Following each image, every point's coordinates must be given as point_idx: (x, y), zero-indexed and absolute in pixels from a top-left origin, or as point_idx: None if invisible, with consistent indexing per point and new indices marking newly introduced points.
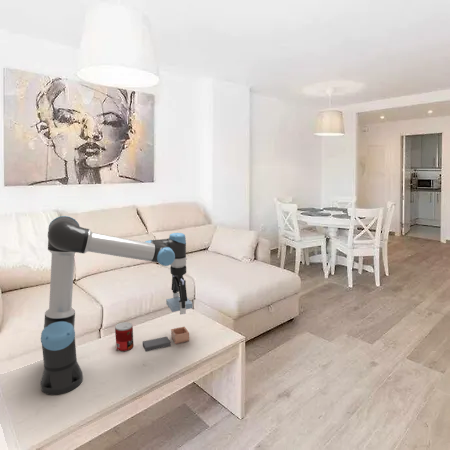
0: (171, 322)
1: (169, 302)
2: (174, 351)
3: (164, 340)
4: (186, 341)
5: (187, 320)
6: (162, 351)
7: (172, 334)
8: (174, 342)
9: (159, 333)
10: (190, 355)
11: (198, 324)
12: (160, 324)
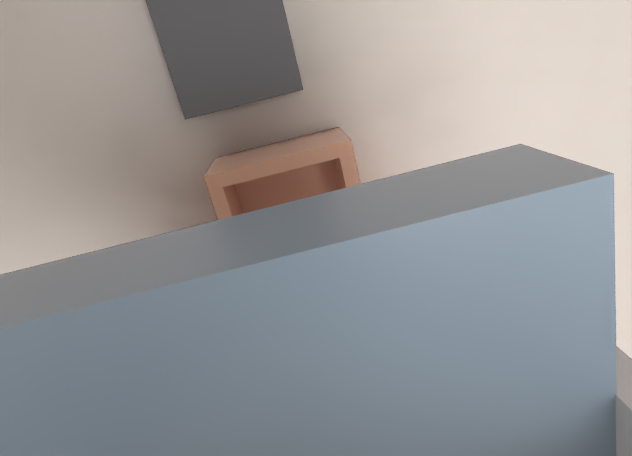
0: (620, 140)
1: (292, 277)
2: (95, 144)
3: (223, 58)
4: None
5: None
6: (100, 34)
7: (300, 145)
8: (242, 151)
9: (446, 14)
10: (28, 265)
11: None
12: (623, 30)
